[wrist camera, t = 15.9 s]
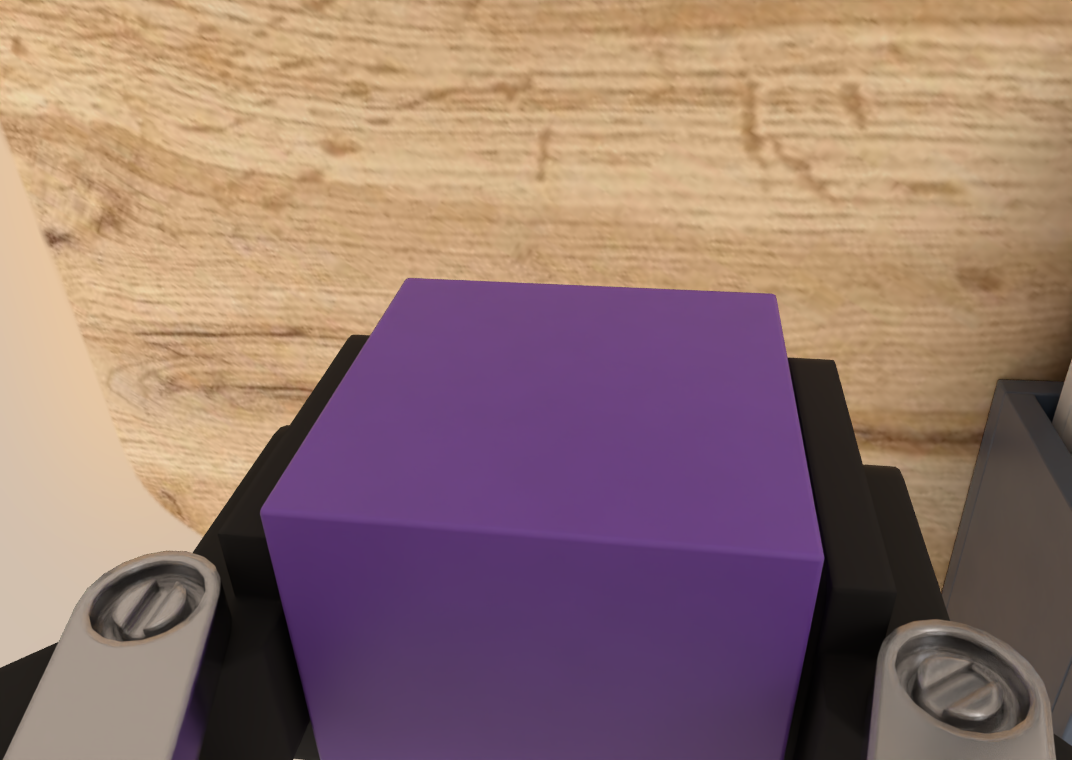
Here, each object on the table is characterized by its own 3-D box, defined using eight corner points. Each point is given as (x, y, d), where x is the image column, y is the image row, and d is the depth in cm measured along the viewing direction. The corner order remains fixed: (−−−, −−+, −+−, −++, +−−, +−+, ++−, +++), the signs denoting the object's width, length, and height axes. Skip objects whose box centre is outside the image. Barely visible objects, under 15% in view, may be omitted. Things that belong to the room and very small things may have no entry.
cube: (405, 276, 11) (256, 511, 7) (777, 292, 10) (827, 558, 7) (435, 547, 13) (335, 830, 10) (739, 573, 13) (760, 887, 9)
